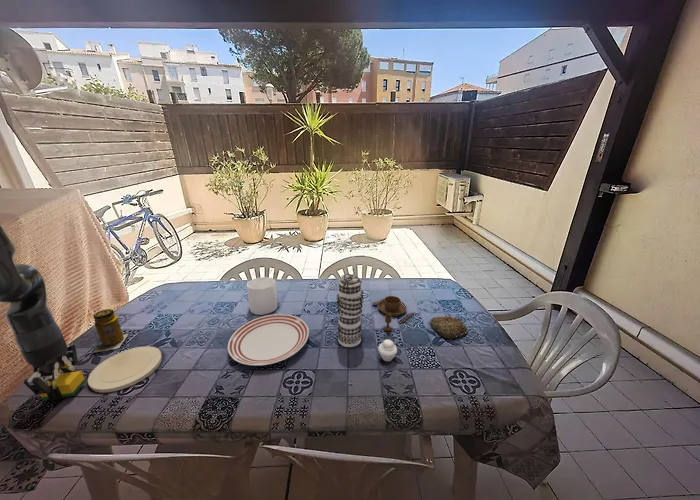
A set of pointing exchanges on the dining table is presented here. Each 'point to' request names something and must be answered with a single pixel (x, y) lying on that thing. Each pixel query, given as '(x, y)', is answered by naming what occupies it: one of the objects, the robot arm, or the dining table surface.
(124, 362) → the side plate
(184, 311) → the dining table surface
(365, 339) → the dining table surface
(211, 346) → the dining table surface
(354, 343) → the decorative candle
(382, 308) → the place setting
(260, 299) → the cup
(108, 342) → the condiment
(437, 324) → the mossy brown rock
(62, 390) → the sponge
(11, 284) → the robot arm
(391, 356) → the white lidded jar
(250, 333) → the dinner plate
